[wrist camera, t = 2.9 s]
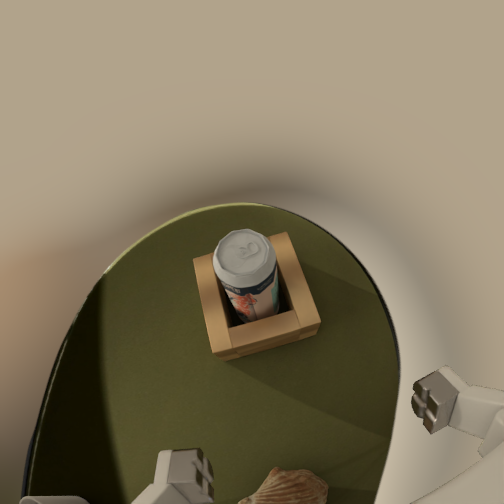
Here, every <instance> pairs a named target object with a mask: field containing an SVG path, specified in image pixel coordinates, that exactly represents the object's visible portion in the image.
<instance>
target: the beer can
mask: <svg viewBox="0 0 504 504" xmlns="http://www.w3.org/2000/svg"><path fill="white" fill-rule="evenodd" d="M213 266H214V270H215V272H216V274H217V276H218V277H219V278H220V280H221V282H222V284H223V286H224V288H225V290H226V292H227V294H228V296H229V298H230V300H231V302H232V304H233V306H234V308H235V310H236V313H237V315H238V316H239V318H240V319H241V320H242V321H243V322H245V323H250V322H254V321H257V320H261V319H264V318H268V317H271V316H274V315H277V313H278V310H279V290H278V277H277V263H276V253H275V250H274V247H273V245H272V244H271V242H270V241H269V240H268V239H267V238H266V237H265V236H263V235H262V234H259V233H257V232H254V231H252V230H250V229H243V230H237V231H232V232H230V233H229V234H228V235H227V236H225V237H224V238H223V239H222V240H220V242H219V244H218V246H217V248H216V250H215V253H214V256H213Z"/></svg>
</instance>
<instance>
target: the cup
mask: <svg viewBox="0 0 504 504" xmlns="http://www.w3.org/2000/svg"><path fill="white" fill-rule="evenodd" d="M20 504H89V503H88V502H87V501H86V500H84V499H82V498H81V497H78V496H27V497H23V498H22V499H21V501H20Z"/></svg>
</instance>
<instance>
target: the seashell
mask: <svg viewBox="0 0 504 504" xmlns="http://www.w3.org/2000/svg"><path fill="white" fill-rule="evenodd" d="M327 495H328V486H327V484H326V482H325V481H324V480H322V479H321V478H319V477H318V476H315V475H314V474H313V472H312V471H309V470H290V471H285V470H283V469H281V468H279V467H275V468H273V469H272V470H271V472H270V473H269V475H268V477H267V478H266V480H265V481H264V483H263V484H262V485H261V486H260V488H259V489H258V490H257V492H256V493H254V494H253V495H251V496H249V497H247V498H244V499H243V500H241V501H239V502H238V504H326V501H327V499H326V498H327Z"/></svg>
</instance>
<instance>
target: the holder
mask: <svg viewBox="0 0 504 504" xmlns="http://www.w3.org/2000/svg"><path fill="white" fill-rule="evenodd" d="M267 239H268V240H269V241H270V242H271V244H272V245H273V247H274V250H275V253H276V263H277V276H278V279H279V282H280V285H281V288H282V291H283V294H284V297H285V300H286V303H287V306H288V309H289V311H287V312H284V313H281V314H278V315H274V316H271V317H268V318H264V319H261V320H257V321H254V322H250V323H247V324H243V325H240V326H236V327H233V323H232V320H231V316H230V312H229V308H228V304H227V300H226V296H225V291H224V286H223V284H222V282H221V280H220V278H219V277H218V276H217V274H216V272H215V270H214V266H213V256H214V253H215V252H214V253H211V254H208V255H205V256H201V257H198V258H194V259H193V261H194V267H195V272H196V277H197V282H198V287H199V292H200V297H201V302H202V307H203V312H204V317H205V321H206V326H207V330H208V335H209V339H210V344H211V348H212V352H213V354H215V355H216V356H217V357H219V358H220V359H222V360H223V361H227V360H231V359H235V358H239V357H243V356H247V355H250V354H254V353H258V352H261V351H265V350H268V349H272V348H275V347H278V346H282V345H285V344H288V343H291V342H295V341H298V340H301V339H304V338H307V337H310V336H313V335H316V333H317V331H318V328H319V326H320V323H321V320H320V317H319V314H318V311H317V309H316V306H315V303H314V301H313V298H312V295H311V293H310V290H309V287H308V285H307V282H306V279H305V277H304V274H303V272H302V269H301V266H300V264H299V261H298V259H297V256H296V254H295V251H294V249H293V246H292V243H291V241H290V238H289V236H288V233H287V232H284V233H281V234H277V235H274V236H270V237H267Z"/></svg>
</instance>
